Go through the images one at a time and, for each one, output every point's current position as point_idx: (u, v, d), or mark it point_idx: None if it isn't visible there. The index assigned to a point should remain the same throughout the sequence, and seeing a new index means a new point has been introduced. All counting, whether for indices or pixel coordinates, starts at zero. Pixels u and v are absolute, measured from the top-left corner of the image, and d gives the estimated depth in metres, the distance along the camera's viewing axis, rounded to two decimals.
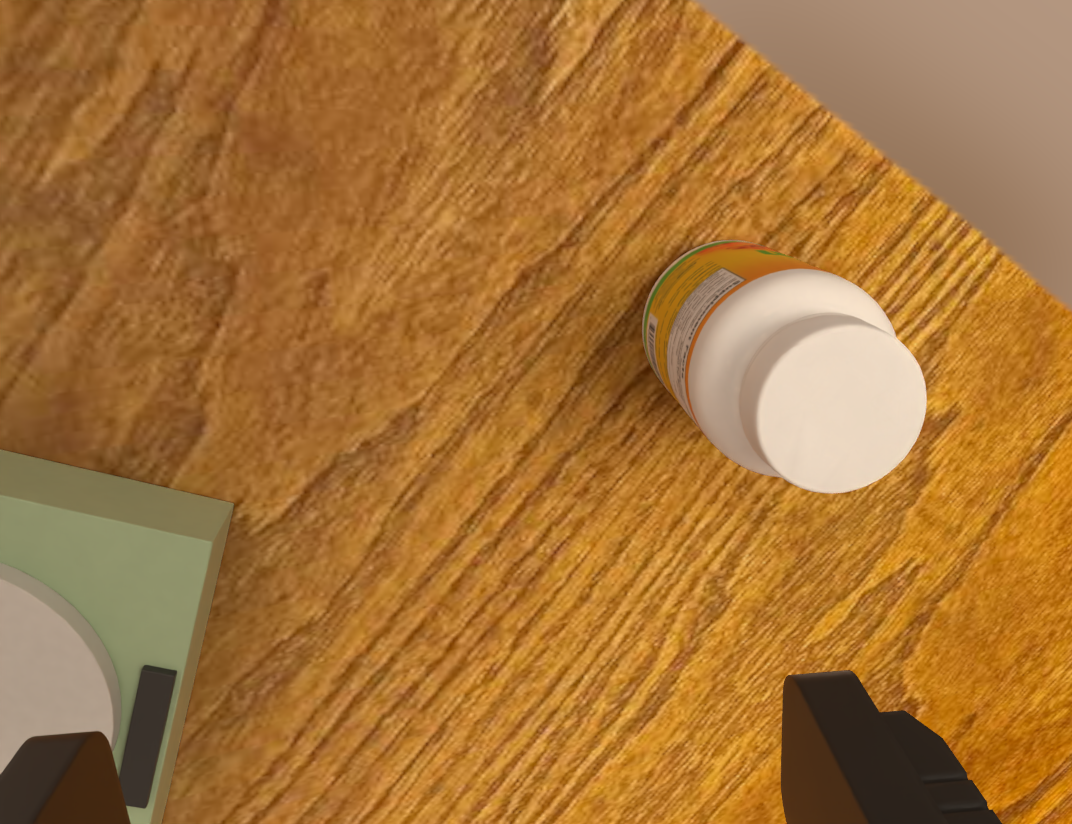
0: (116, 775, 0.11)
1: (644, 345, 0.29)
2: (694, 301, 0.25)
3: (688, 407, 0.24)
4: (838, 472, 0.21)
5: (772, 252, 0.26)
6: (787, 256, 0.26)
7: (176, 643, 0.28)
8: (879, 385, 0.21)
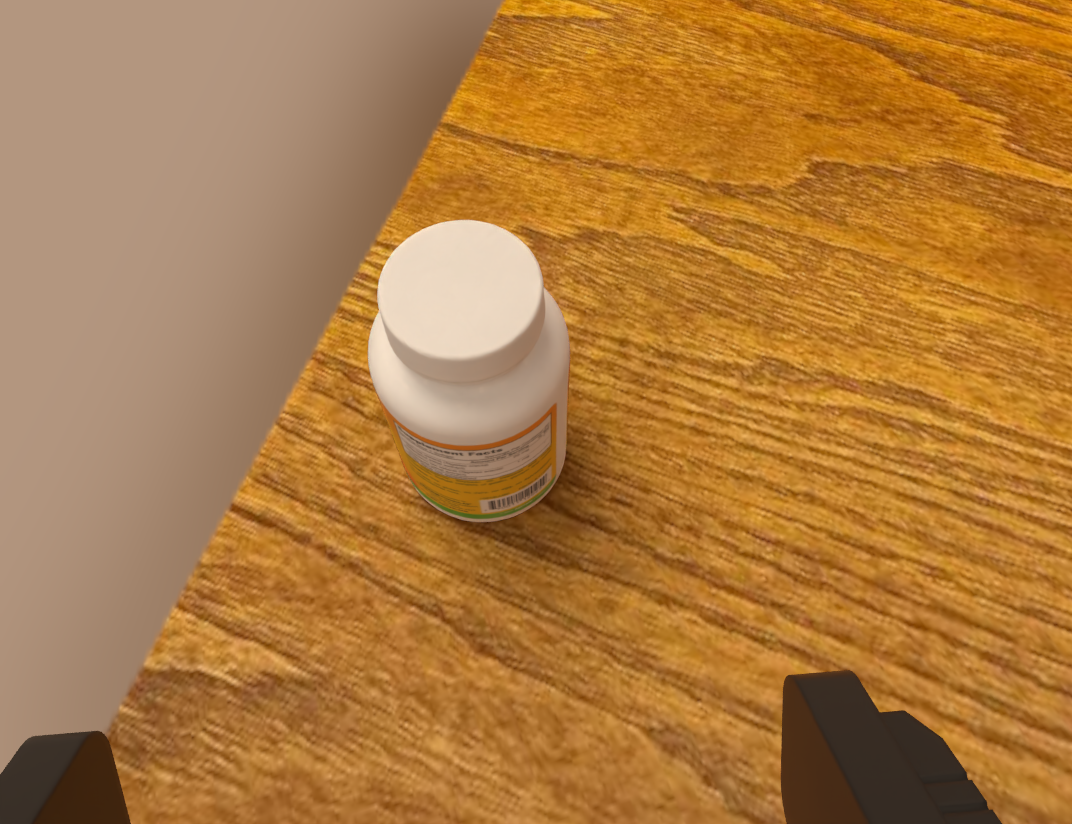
0: (116, 775, 0.11)
1: (520, 511, 0.29)
2: (435, 465, 0.26)
3: (529, 435, 0.25)
4: (517, 271, 0.22)
5: None
6: None
7: None
8: (428, 264, 0.22)
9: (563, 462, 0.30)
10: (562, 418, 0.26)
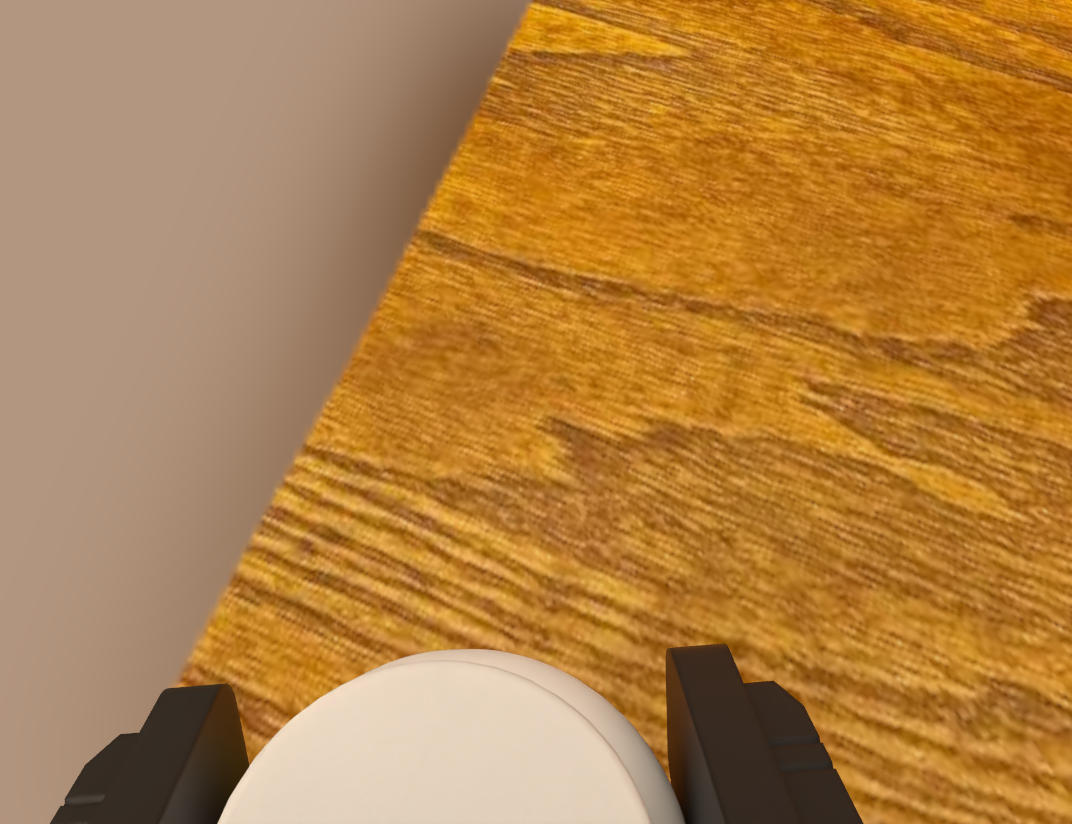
0: (240, 727, 0.12)
1: None
2: None
3: None
4: None
5: None
6: None
7: None
8: (343, 820, 0.08)
9: None
10: None
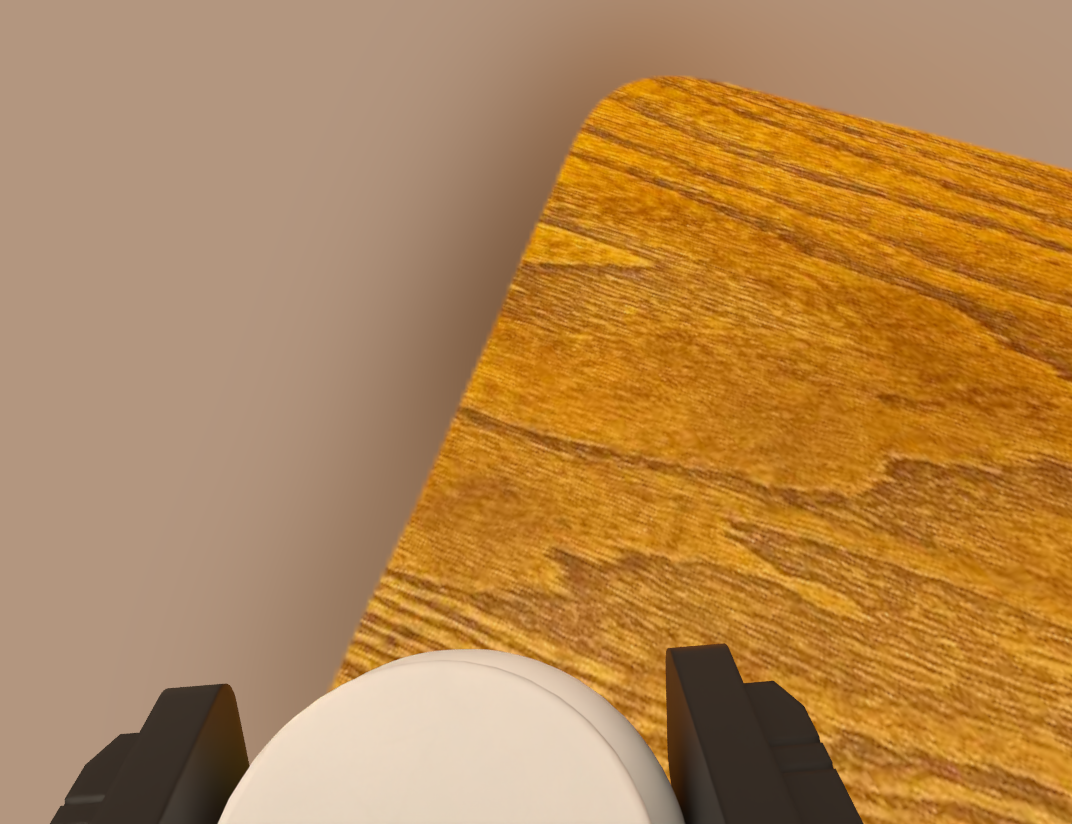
0: (240, 727, 0.12)
1: None
2: None
3: None
4: None
5: None
6: None
7: None
8: (343, 820, 0.08)
9: None
10: None
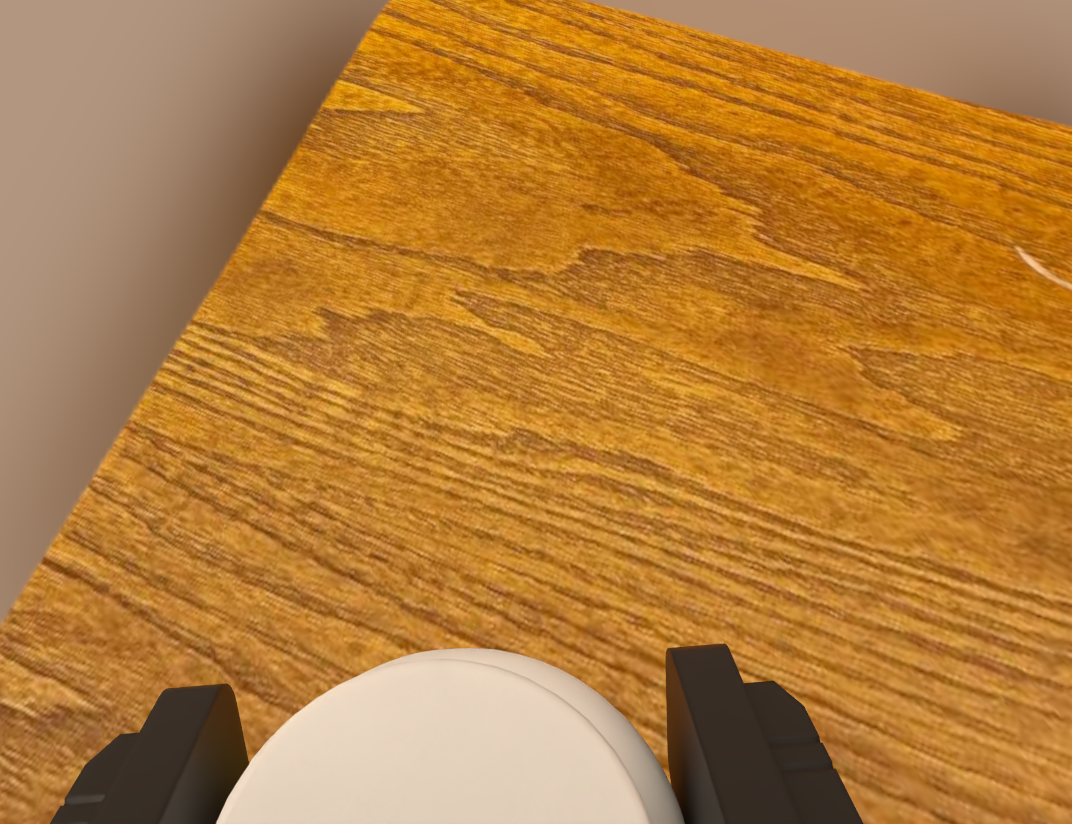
0: (240, 727, 0.12)
1: None
2: None
3: None
4: None
5: None
6: None
7: None
8: (342, 818, 0.08)
9: None
10: None
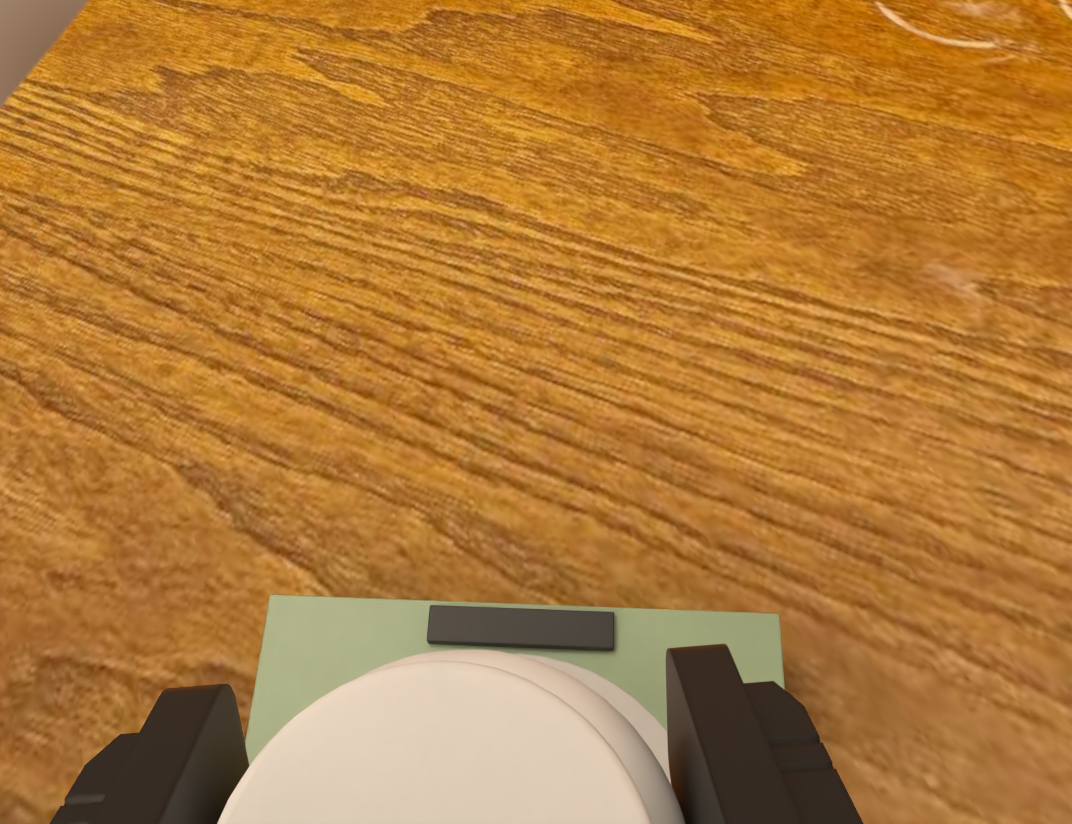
0: (240, 727, 0.12)
1: None
2: None
3: None
4: None
5: None
6: None
7: (396, 613, 0.25)
8: (342, 820, 0.08)
9: None
10: None
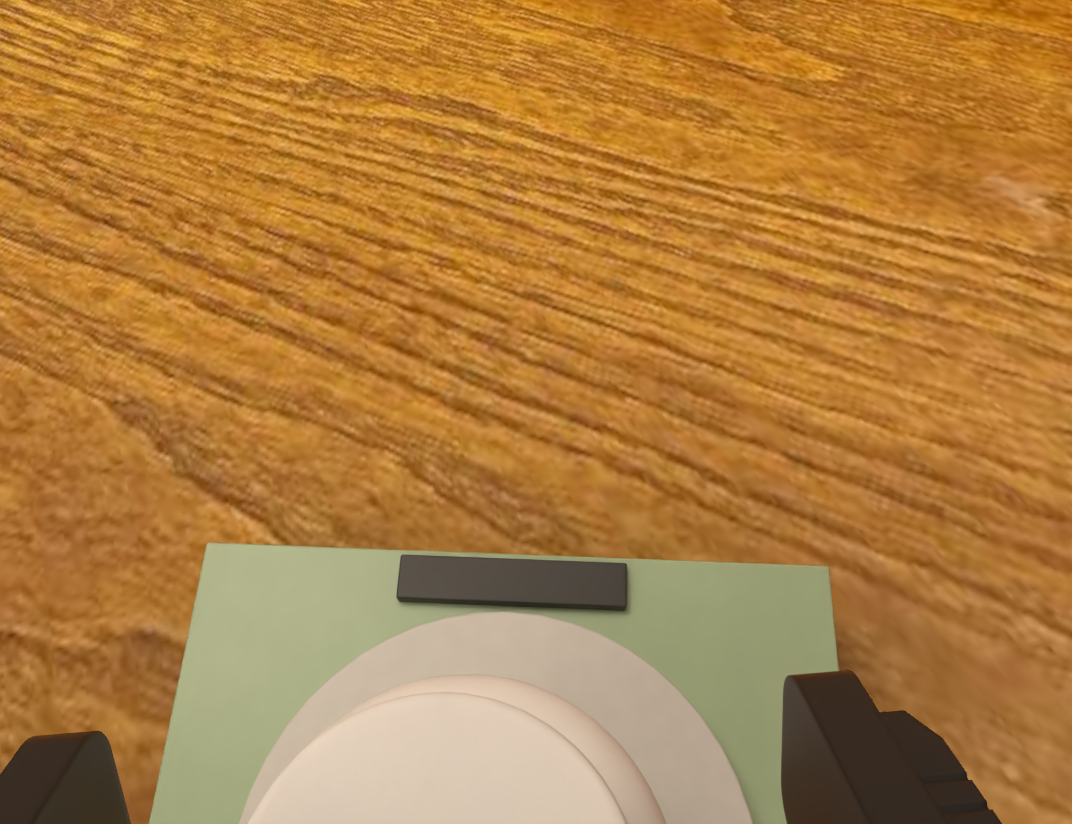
0: (116, 775, 0.11)
1: None
2: None
3: None
4: None
5: None
6: None
7: (360, 565, 0.21)
8: None
9: None
10: None
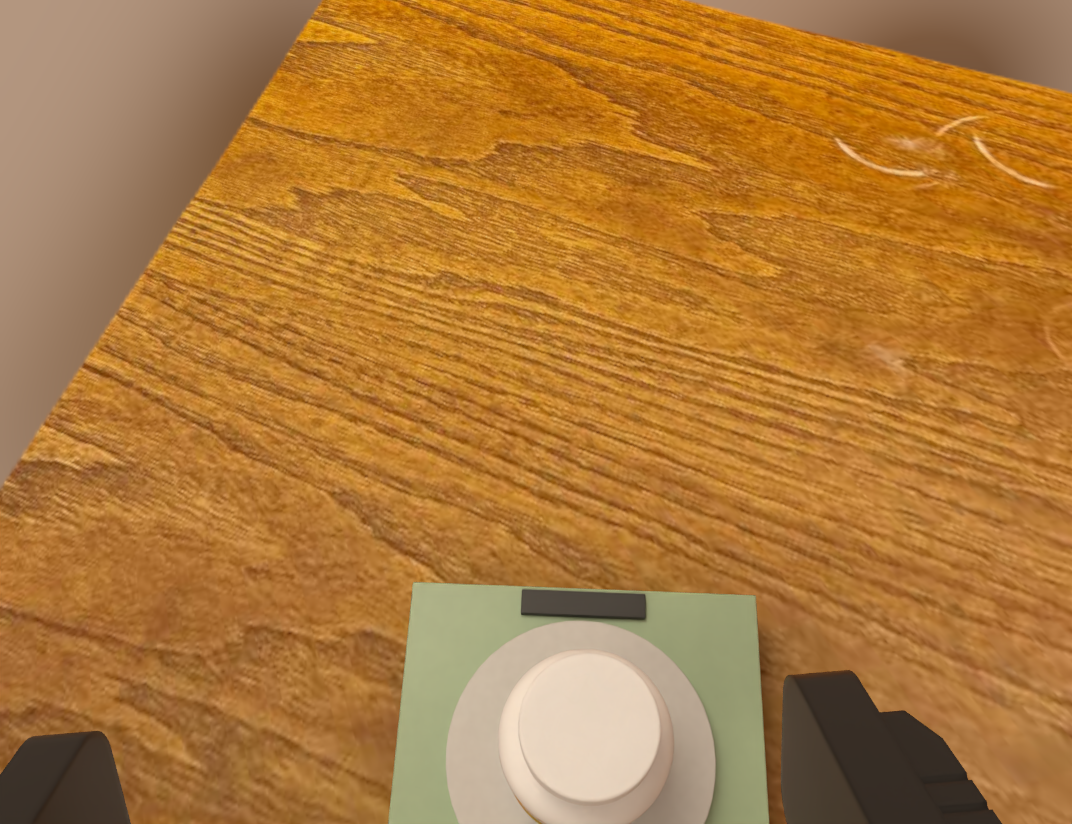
0: (116, 775, 0.11)
1: None
2: None
3: None
4: (639, 709, 0.26)
5: None
6: None
7: (498, 594, 0.38)
8: (561, 701, 0.26)
9: None
10: None
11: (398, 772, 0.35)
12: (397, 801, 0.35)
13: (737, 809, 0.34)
